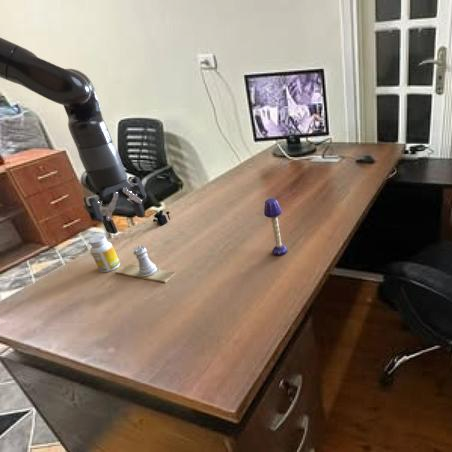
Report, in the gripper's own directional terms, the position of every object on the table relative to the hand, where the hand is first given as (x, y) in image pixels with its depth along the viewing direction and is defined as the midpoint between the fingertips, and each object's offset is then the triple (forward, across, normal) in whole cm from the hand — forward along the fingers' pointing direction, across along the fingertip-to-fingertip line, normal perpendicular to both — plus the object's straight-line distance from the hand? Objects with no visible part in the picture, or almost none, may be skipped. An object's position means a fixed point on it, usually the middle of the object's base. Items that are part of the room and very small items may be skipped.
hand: (128, 224), depth 89 cm
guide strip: (+16, 0, -1) cm, 16 cm away
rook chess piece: (+15, 0, 0) cm, 15 cm away
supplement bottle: (+16, 0, -15) cm, 22 cm away
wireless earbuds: (+16, -25, -19) cm, 36 cm away
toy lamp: (+16, -18, +31) cm, 40 cm away
